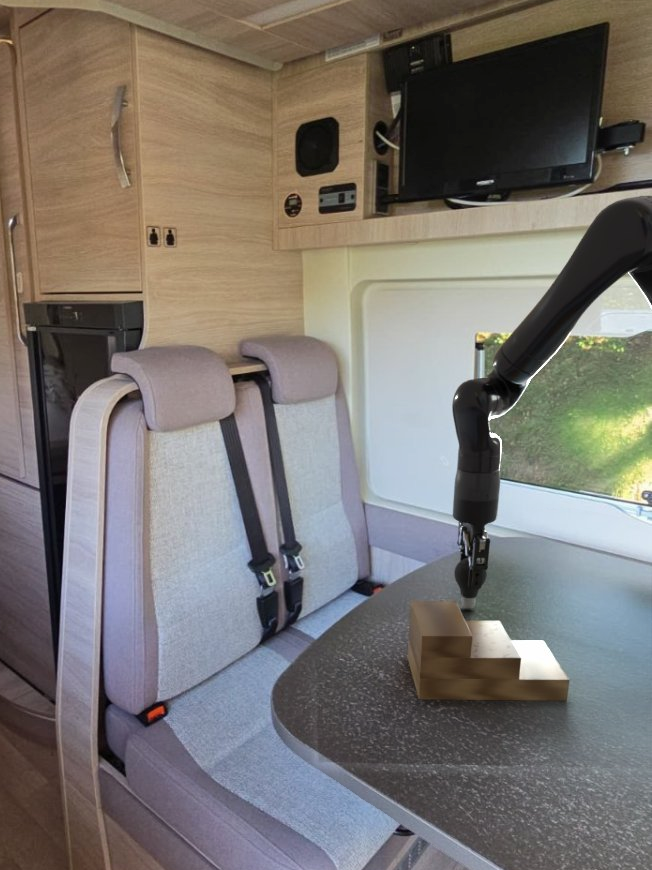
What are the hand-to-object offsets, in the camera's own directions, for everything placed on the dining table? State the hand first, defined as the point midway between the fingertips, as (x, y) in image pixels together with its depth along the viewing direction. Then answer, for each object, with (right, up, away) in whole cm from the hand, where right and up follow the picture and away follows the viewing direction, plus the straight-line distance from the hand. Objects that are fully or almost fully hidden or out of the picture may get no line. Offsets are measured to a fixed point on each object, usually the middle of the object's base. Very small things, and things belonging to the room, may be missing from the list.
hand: (469, 579), depth 132 cm
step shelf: (-5, -14, -21) cm, 26 cm away
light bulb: (0, -6, +2) cm, 6 cm away
